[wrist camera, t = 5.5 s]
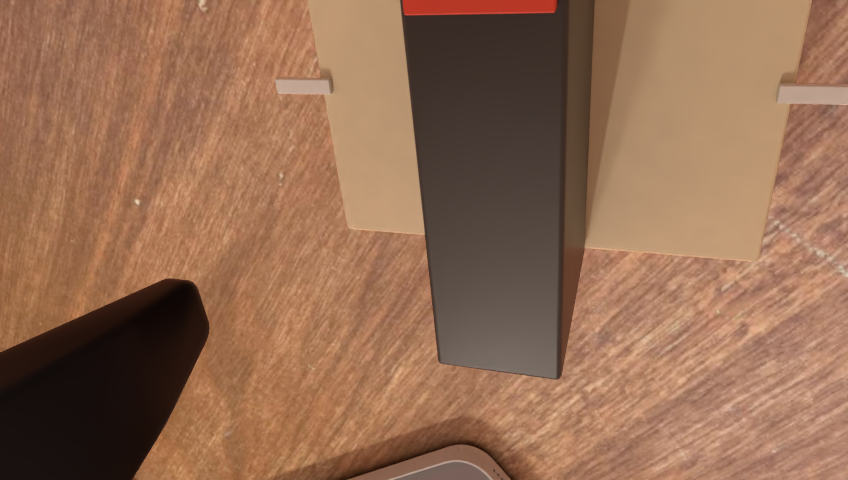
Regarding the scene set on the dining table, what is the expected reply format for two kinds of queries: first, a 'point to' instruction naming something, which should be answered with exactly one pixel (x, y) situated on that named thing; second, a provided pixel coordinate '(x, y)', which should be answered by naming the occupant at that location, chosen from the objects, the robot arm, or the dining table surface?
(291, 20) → the dining table surface
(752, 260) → the knob base
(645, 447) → the dining table surface
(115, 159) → the dining table surface
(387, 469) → the smartphone
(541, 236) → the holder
